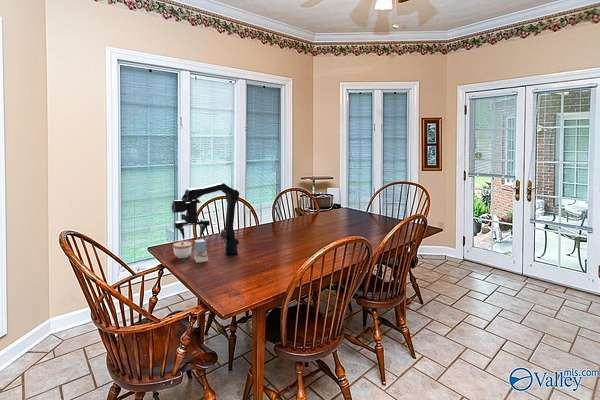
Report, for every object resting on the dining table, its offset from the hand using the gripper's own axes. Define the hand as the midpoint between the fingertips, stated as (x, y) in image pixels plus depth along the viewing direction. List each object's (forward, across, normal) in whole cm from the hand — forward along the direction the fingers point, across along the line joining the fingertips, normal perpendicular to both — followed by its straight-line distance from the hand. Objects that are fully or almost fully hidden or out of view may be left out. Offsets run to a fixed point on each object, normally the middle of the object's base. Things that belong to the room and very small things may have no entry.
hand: (192, 238), depth 202 cm
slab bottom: (+14, -5, 0) cm, 15 cm away
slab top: (+11, -5, 0) cm, 12 cm away
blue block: (+8, -5, 0) cm, 9 cm away
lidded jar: (+14, +3, -12) cm, 18 cm away
